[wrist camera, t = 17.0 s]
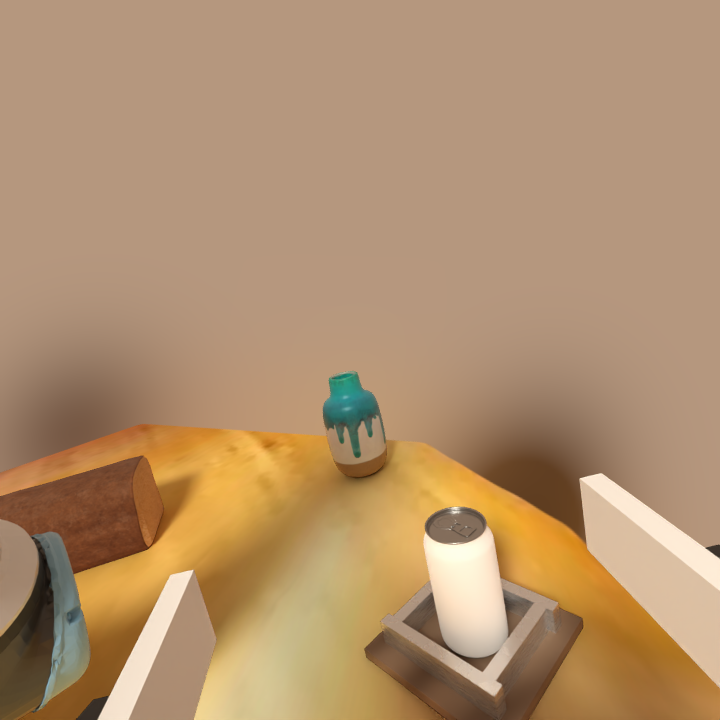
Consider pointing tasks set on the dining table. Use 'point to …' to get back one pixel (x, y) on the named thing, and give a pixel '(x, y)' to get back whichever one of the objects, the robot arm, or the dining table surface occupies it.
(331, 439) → the vase
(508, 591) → the grey hollow square frame
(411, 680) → the collar base
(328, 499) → the dining table surface
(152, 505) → the bread
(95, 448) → the dining table surface
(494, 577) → the can
